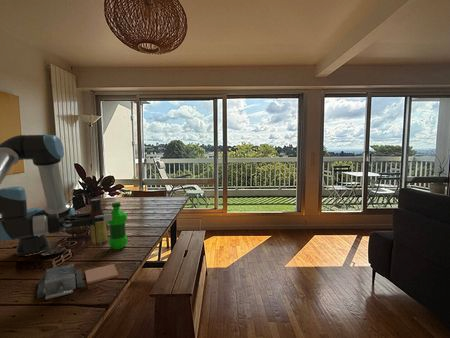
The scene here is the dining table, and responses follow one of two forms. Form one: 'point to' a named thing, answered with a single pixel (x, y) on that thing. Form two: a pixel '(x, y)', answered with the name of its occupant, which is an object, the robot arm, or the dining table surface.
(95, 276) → the terracotta tile
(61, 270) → the dark grey square frame
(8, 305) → the dining table surface
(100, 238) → the sauce bottle
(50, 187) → the robot arm
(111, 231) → the plastic bottle
